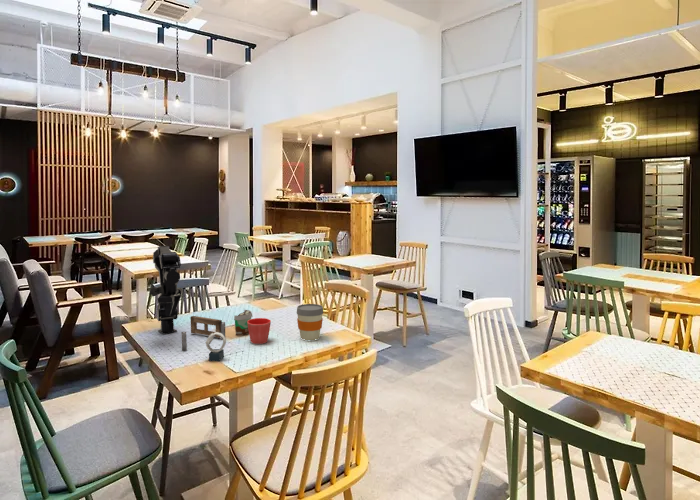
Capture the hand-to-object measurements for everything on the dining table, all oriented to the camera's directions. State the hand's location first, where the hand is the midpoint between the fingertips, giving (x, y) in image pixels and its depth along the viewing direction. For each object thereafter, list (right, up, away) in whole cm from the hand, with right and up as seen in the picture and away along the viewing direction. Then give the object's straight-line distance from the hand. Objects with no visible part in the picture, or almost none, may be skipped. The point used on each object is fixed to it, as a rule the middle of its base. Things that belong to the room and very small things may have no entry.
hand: (171, 313), depth 209 cm
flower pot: (+40, -13, +3) cm, 42 cm away
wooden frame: (+13, -11, +9) cm, 20 cm away
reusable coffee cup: (+62, -13, +9) cm, 64 cm away
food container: (+30, -12, +15) cm, 36 cm away
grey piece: (+16, -14, -2) cm, 21 cm away
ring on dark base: (+26, -16, -20) cm, 36 cm away
